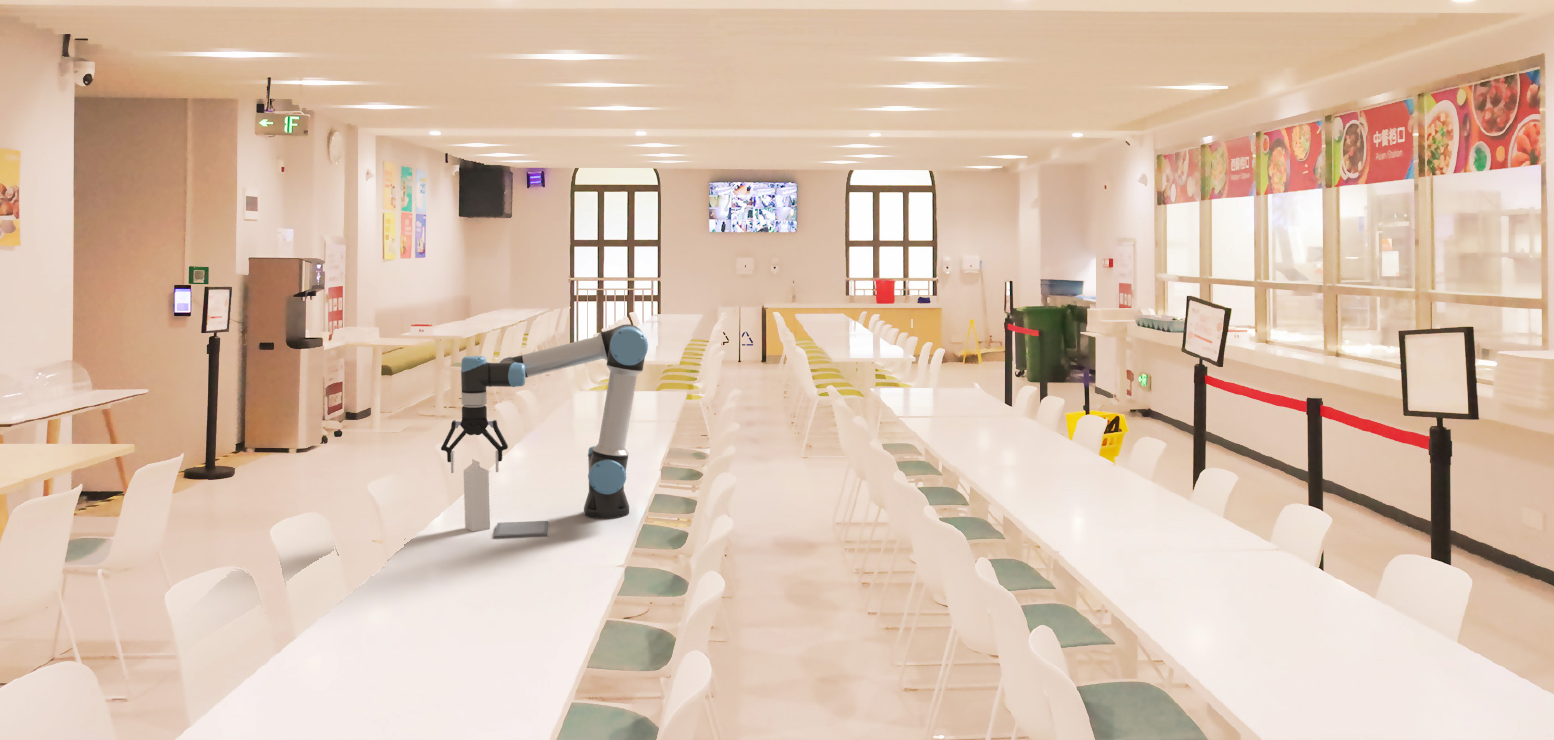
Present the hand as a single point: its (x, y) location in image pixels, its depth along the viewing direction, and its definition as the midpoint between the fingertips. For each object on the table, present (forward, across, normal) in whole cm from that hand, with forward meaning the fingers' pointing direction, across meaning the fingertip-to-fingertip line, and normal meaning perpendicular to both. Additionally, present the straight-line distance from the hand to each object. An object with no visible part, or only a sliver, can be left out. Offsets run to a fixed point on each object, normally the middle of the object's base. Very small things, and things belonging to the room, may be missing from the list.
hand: (475, 472), depth 343 cm
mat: (+18, -14, +5) cm, 24 cm away
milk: (+18, 0, 0) cm, 19 cm away
